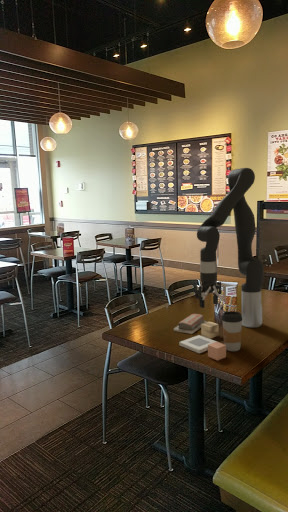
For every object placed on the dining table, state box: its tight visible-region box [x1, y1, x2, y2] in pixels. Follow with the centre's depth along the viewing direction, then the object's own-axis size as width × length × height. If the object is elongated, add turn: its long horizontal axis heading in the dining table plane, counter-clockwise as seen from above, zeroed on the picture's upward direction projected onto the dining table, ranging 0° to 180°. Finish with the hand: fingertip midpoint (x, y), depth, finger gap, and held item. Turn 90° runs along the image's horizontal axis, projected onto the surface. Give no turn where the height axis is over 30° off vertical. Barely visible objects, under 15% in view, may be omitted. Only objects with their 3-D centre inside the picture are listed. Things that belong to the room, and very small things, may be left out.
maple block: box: [200, 321, 219, 340], centre depth 173 cm, size 6×6×6 cm
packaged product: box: [173, 313, 208, 335], centre depth 186 cm, size 18×5×10 cm
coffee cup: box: [221, 310, 243, 352], centre depth 157 cm, size 8×8×15 cm
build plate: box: [178, 334, 218, 354], centre depth 163 cm, size 12×12×2 cm
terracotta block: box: [207, 341, 227, 361], centre depth 150 cm, size 5×5×5 cm
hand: (209, 305), depth 172 cm, fingers open, 8 cm apart
